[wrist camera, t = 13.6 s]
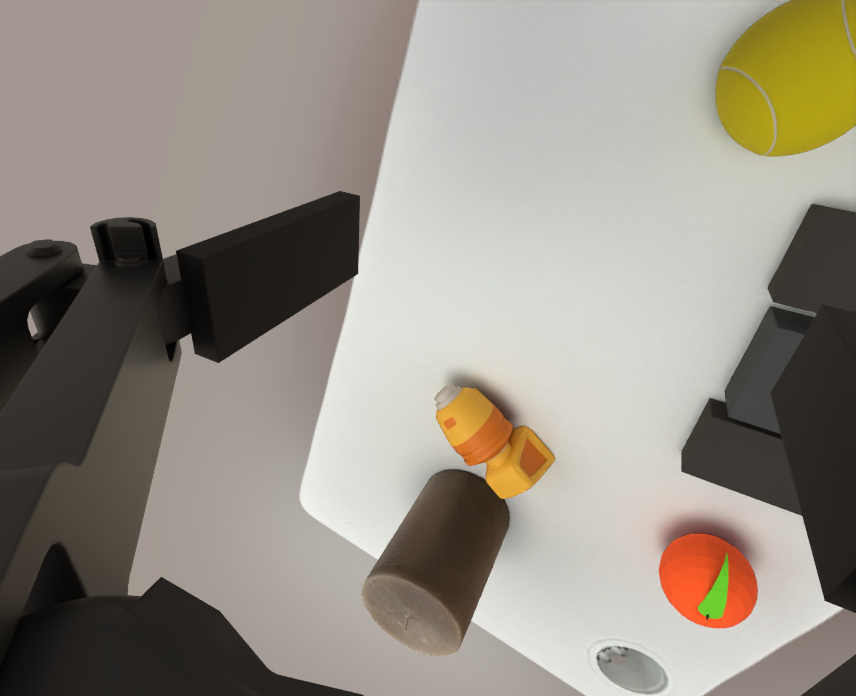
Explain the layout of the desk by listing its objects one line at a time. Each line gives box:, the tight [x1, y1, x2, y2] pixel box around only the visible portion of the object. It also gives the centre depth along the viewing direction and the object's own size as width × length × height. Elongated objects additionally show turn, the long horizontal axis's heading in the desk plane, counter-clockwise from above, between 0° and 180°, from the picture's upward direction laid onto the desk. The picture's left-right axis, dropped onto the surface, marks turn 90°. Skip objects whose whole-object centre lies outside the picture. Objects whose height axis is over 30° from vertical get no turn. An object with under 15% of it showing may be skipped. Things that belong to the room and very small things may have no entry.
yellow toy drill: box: [434, 384, 555, 499], centre depth 44 cm, size 5×6×12 cm
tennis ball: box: [716, 0, 856, 156], centre depth 24 cm, size 7×7×7 cm
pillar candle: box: [361, 470, 510, 656], centre depth 47 cm, size 10×10×15 cm
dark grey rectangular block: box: [725, 307, 814, 434], centre depth 32 cm, size 7×6×4 cm
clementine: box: [659, 533, 758, 628], centre depth 39 cm, size 8×7×7 cm
